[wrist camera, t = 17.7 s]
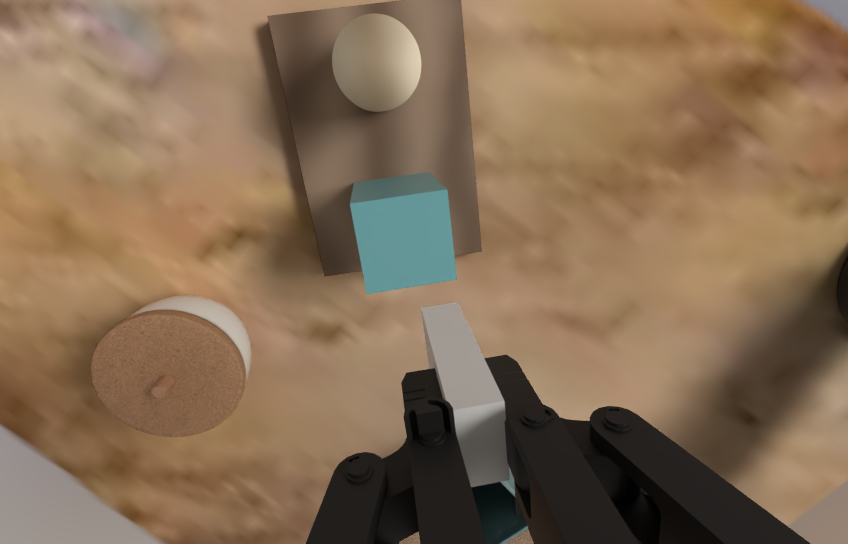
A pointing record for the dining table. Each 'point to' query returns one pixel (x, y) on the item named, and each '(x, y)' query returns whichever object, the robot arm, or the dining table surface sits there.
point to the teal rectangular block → (403, 232)
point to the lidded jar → (173, 366)
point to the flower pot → (498, 511)
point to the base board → (378, 121)
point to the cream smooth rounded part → (376, 62)
